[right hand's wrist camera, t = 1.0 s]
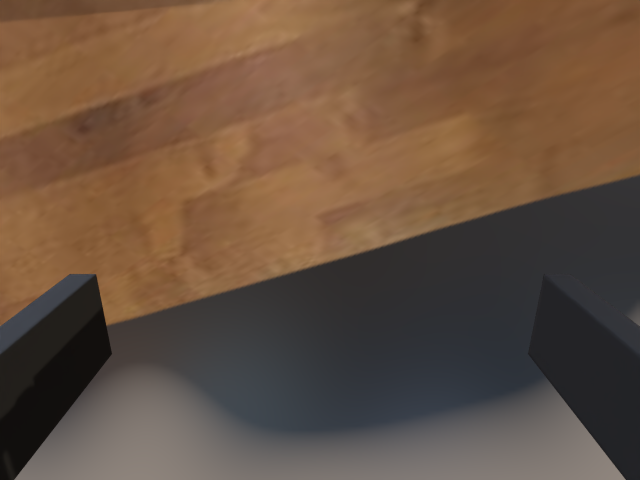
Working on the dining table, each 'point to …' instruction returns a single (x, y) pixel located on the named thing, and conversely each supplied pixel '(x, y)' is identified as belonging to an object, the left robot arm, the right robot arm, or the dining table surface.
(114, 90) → the dining table surface
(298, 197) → the dining table surface
